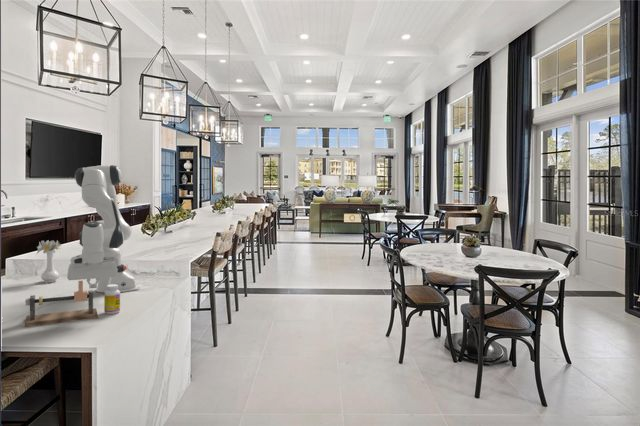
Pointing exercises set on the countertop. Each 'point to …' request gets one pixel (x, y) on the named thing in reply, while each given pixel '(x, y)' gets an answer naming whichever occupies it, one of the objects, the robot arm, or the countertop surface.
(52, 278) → the flower vase
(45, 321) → the towel rod holder
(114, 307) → the supplement bottle
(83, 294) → the peach stepped block
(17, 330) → the countertop surface
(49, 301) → the dark gray rod
